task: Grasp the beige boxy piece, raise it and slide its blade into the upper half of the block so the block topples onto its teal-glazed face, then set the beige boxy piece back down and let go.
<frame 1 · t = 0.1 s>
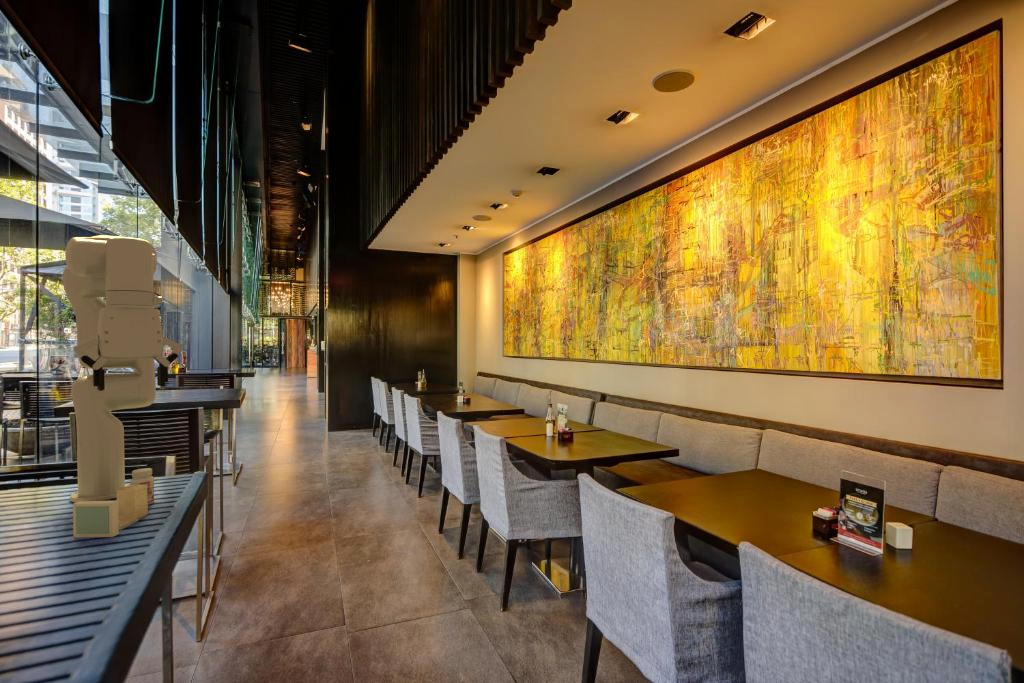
hand: (132, 388, 99), 31 cm above the table, fingers open, 9 cm apart
beige boxy piece: (132, 517, 115), on the table
pill bottle: (142, 504, 124), on the table
block: (96, 535, 105), on the table
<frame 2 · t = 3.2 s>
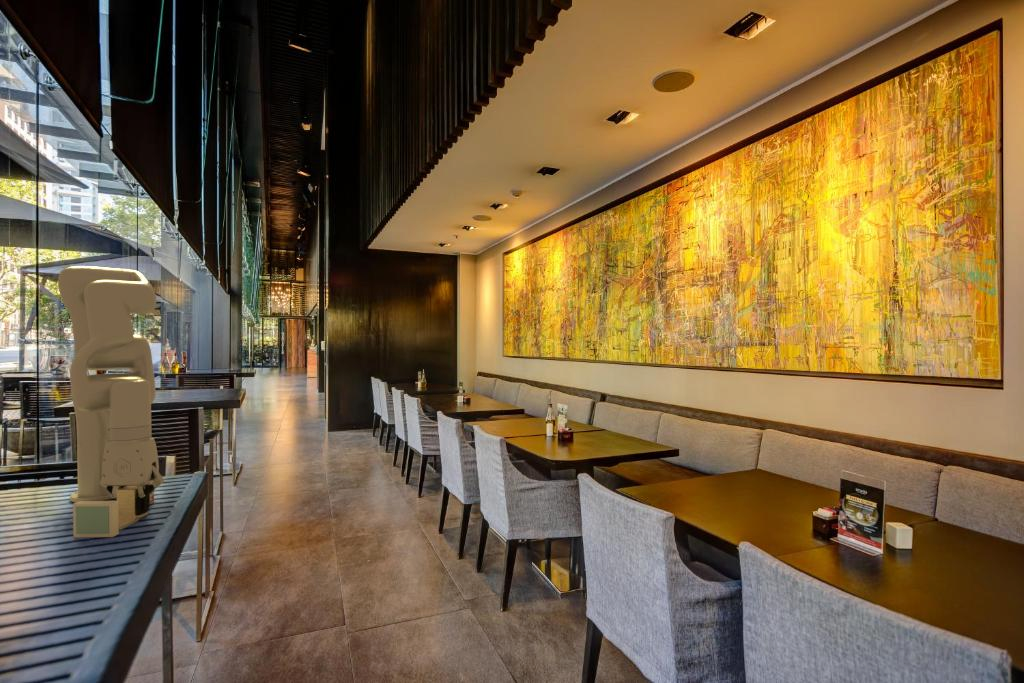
hand: (132, 512, 115), 1 cm above the table, fingers closed on beige boxy piece, 4 cm apart
beige boxy piece: (132, 517, 115), on the table, touching gripper
everything else where it was.
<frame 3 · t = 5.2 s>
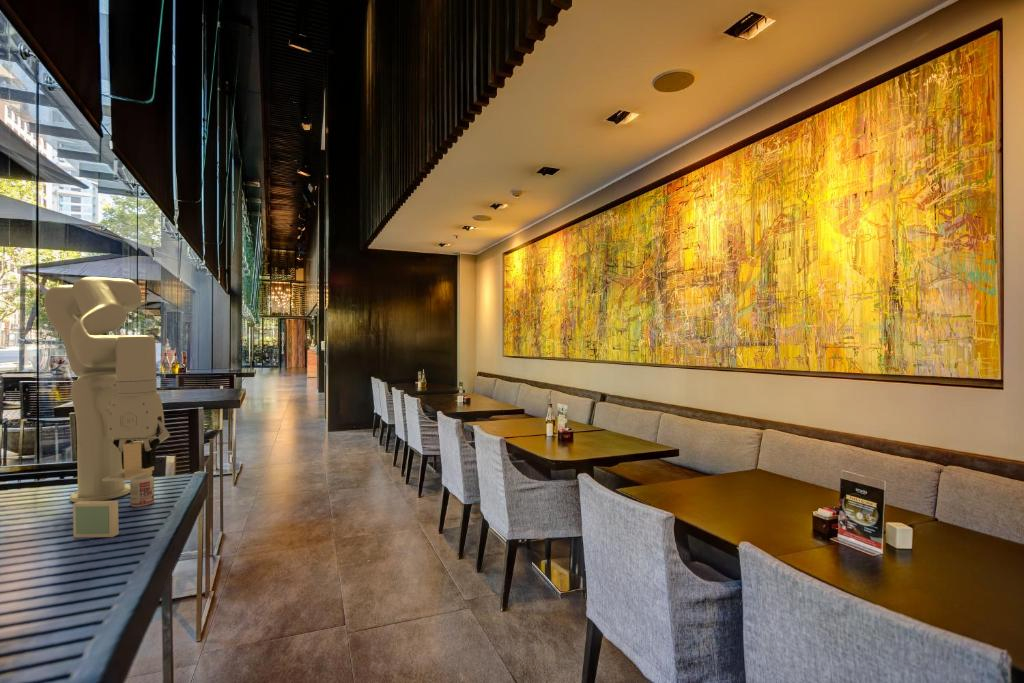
hand: (139, 466, 116), 11 cm above the table, fingers closed on beige boxy piece, 4 cm apart
beige boxy piece: (139, 472, 116), point 10 cm above the table, touching gripper
everything else where it was.
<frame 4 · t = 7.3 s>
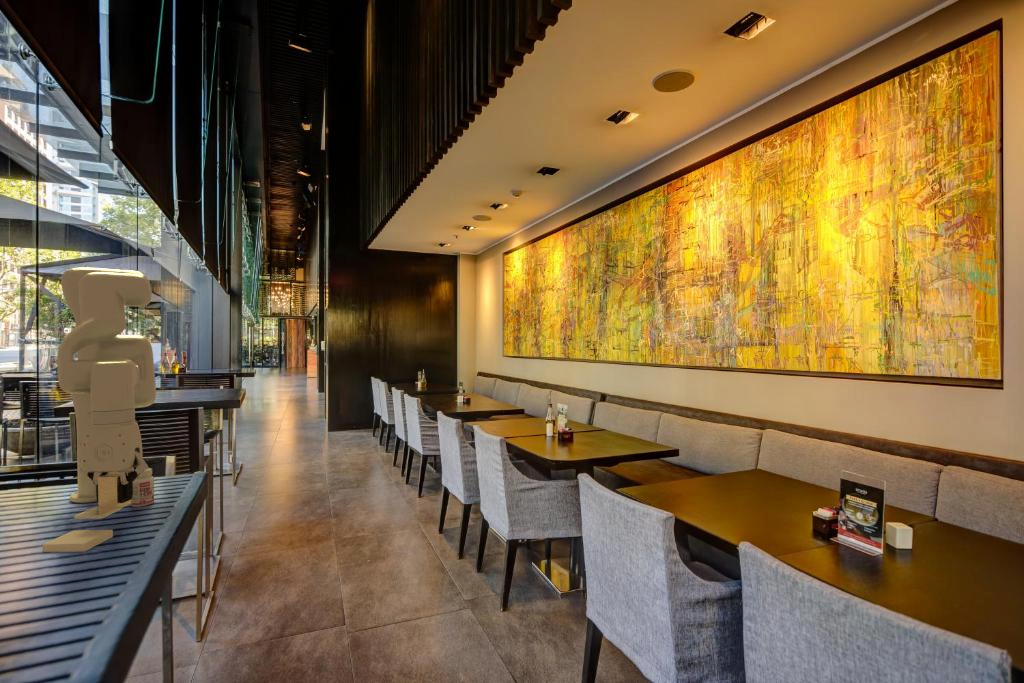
hand: (114, 500, 110), 6 cm above the table, fingers closed on beige boxy piece, 4 cm apart
beige boxy piece: (115, 506, 110), point 4 cm above the table, touching gripper
block: (93, 533, 104), point 1 cm above the table, tilted 90°
everything else where it was.
when the fingers open (2 cm above the table, at t = 9.8 s): beige boxy piece stays where it is, on the table.
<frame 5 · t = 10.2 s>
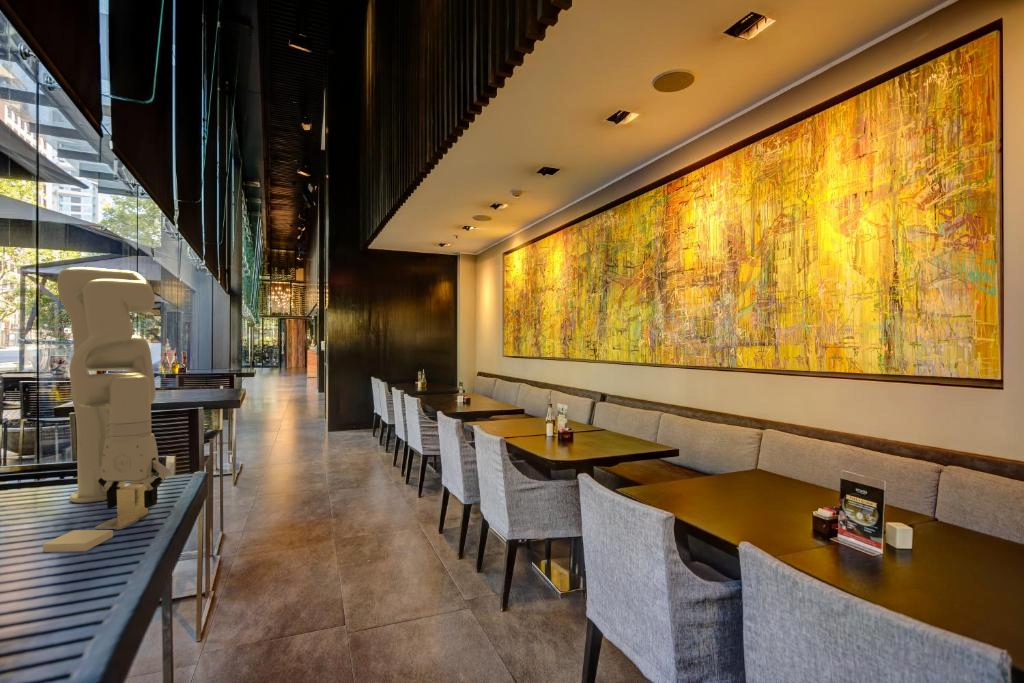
hand: (132, 505, 115), 3 cm above the table, fingers open, 7 cm apart
beige boxy piece: (132, 517, 115), on the table
everything else where it was.
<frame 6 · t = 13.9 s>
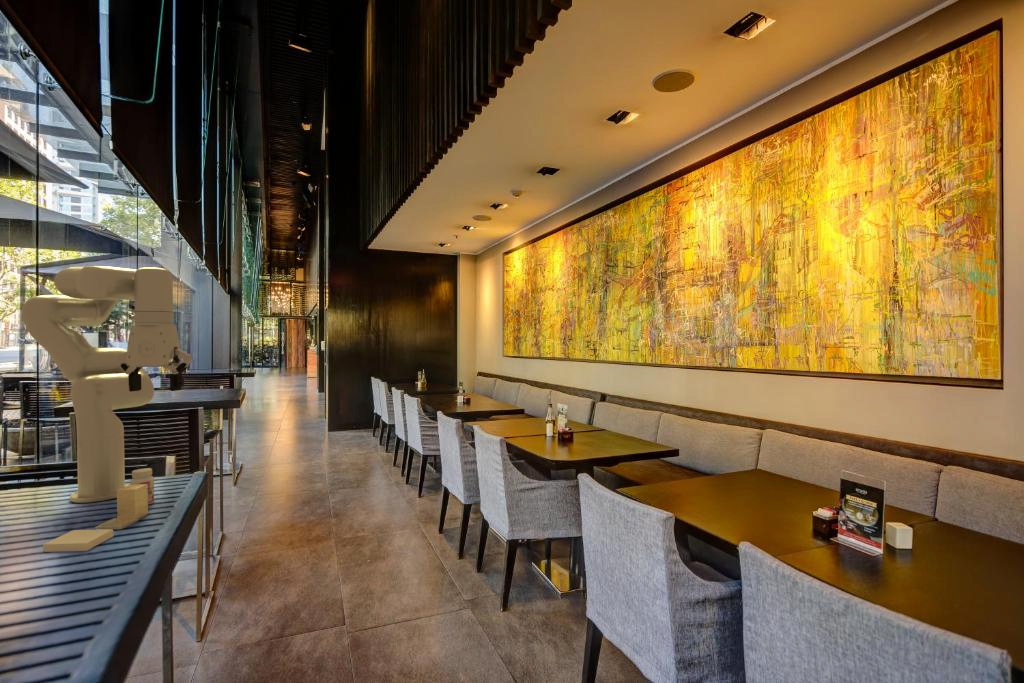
hand: (155, 390, 121), 28 cm above the table, fingers open, 9 cm apart
nothing on the table moved.
at the end: block tilted 90°; the gripper is holding nothing; beige boxy piece on the table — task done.
